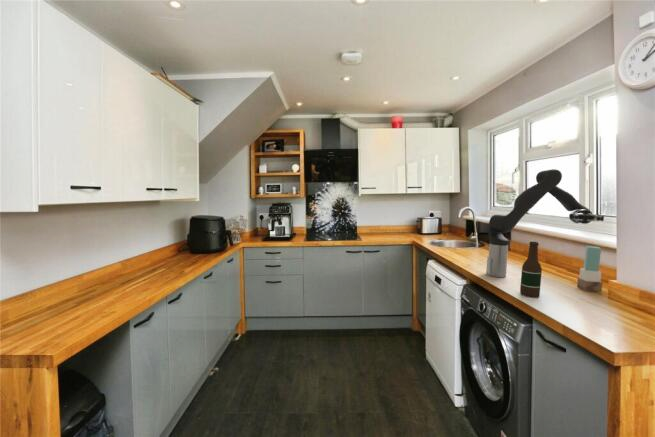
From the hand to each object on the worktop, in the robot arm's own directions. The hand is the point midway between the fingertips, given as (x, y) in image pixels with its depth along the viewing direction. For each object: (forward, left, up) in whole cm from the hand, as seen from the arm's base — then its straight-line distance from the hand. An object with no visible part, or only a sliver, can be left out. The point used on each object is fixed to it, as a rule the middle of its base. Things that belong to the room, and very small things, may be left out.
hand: (587, 218), depth 172 cm
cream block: (-3, -12, -29) cm, 32 cm away
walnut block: (-2, -12, -34) cm, 36 cm away
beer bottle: (-35, -30, -34) cm, 58 cm away
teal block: (-3, -12, -24) cm, 27 cm away
